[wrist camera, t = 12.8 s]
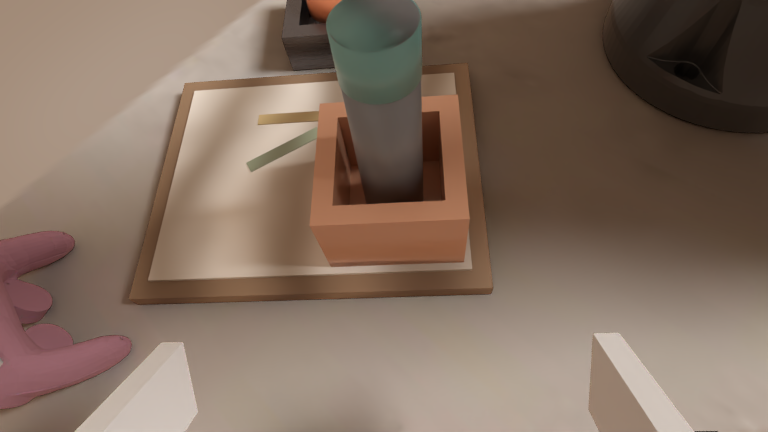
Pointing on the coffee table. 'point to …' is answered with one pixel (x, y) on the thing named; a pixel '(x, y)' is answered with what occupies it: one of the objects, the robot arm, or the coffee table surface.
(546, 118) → the coffee table surface
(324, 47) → the button housing
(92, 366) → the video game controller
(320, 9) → the button
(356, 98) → the marker
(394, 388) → the coffee table surface
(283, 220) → the board
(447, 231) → the pen cup
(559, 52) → the coffee table surface
